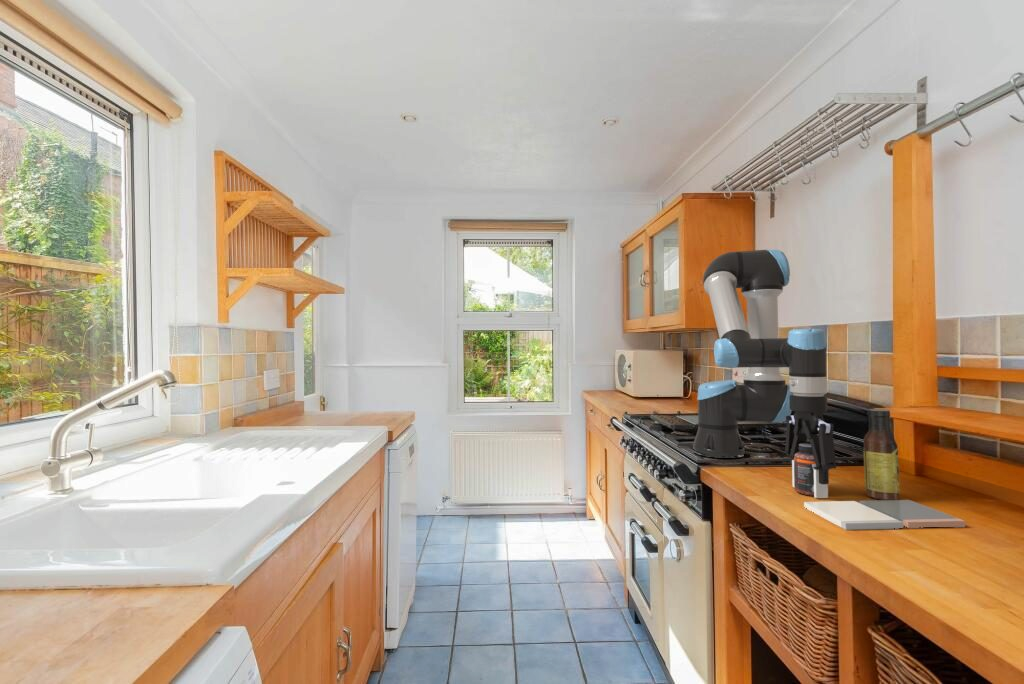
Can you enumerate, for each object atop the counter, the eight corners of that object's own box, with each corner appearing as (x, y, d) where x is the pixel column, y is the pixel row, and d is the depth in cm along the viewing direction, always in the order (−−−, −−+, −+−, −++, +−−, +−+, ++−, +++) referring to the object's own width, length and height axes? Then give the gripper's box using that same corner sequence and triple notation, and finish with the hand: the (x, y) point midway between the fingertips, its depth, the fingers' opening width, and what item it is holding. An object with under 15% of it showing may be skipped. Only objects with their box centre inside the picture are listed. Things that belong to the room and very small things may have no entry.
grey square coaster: (859, 506, 101) (859, 500, 101) (909, 505, 101) (909, 499, 101) (908, 528, 89) (908, 522, 89) (965, 527, 89) (965, 520, 89)
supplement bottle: (825, 498, 106) (824, 448, 106) (795, 494, 109) (794, 446, 109) (823, 491, 111) (822, 443, 112) (794, 487, 114) (793, 441, 114)
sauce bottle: (906, 502, 103) (904, 412, 103) (874, 501, 104) (872, 411, 104) (889, 493, 109) (887, 408, 109) (858, 492, 110) (857, 407, 111)
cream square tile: (804, 507, 101) (804, 501, 101) (854, 506, 101) (854, 500, 101) (845, 529, 88) (845, 523, 88) (903, 528, 89) (902, 522, 89)
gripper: (767, 390, 120) (769, 480, 120) (821, 399, 100) (823, 507, 100) (796, 390, 121) (798, 479, 120) (855, 398, 101) (857, 506, 100)
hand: (809, 491), depth 110 cm, fingers open, 7 cm apart
